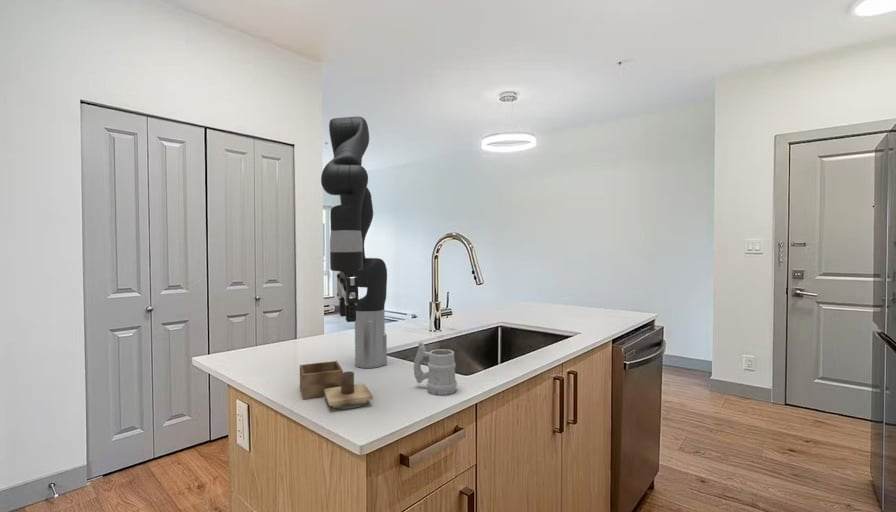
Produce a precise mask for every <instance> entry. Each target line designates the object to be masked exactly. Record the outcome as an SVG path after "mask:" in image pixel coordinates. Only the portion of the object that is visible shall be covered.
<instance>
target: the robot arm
mask: <svg viewBox="0 0 896 512" xmlns="http://www.w3.org/2000/svg"><path fill="white" fill-rule="evenodd" d="M328 128H329V130H328V131H329V136H330V137H329V138H330V143H331V144H330V145H331V148H332V152H333V158H332V159H331V160H330V161H329V162H328V163H326V165H325V166H324V168H323V170H322V172H321V177H320V183H321V187H322V188H323V190H324V191H325V193H327V194H329V195H332V196H339V200H340V204H339V205H335V206H332V207H331V209H330V213H329V215H330V216H329V217H330V218H329V219H330V220H329V222H330V237H329V268H330V271H332V272H339V273H337V274H336V287H337V288H336V291H337V293H336V296H337V299H338V301H339V316H340V317H345V321H346V322H347V323H354V365H355V367H357V368H363V369H372V368H378V367H383V366H387V365H388V356H387V355H388V351H387V350H388V346H387V345H388V344H387V342H388V340H387V338H388V336H387V333H385V332H386V329H385V327H386V326H385V323H386V322H385V304H386V300H387V286H388V268H387V264H386V263H385V261H384V260H383V259H382V258H378V257H375V258H374V257H366V253H365V240H366V237H367V233H368V232H369V229H370V227H371V224H372V222H373V218H374V208H373V200H372V194H371V192H370V190H369V188H368V183H369V174H368V172H367V170H366V168H365V167H364V166H362V162H363V161H362V160H363V156H364V155H365V153H366V151H367V149H368V148H369V147H368V146H369V143H370V132H369V126H368V123H367V121H366V118H364V117H362V116H357V115H356V116H347V117H346V116H345V117H334V118H330V120H329V124H328ZM359 288H366V294H365V295H364V296H363V297H361V298H359Z"/></svg>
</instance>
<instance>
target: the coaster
mask: <svg viewBox="0 0 896 512" xmlns="http://www.w3.org/2000/svg"><path fill="white" fill-rule="evenodd" d="M368 401H369V400H367V402H368ZM366 404H367V403H361V404H354V405H348V406H341V407H335V408H334V406H333V405H332V406H329V407H330V408H332V409H335V410H352V409H357V408H358V409H359V408H360V407H363V406H365V405H366Z"/></svg>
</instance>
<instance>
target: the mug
mask: <svg viewBox="0 0 896 512" xmlns="http://www.w3.org/2000/svg"><path fill="white" fill-rule="evenodd" d="M425 357H428V363H427V368H428V371H427V372H424V371H423V370H422V368H421V367H422V366H421V364H422V361H423V360H424V358H425ZM456 364H457V363H456V362H455V351H454V350H451V349H444V348H443V349H442V348H441V349H439V348H438V349H433V350H430V351H426V346H425V344H424V342H422V341H419V342H418V349H417V352H416V355H415V358H414V363H413V375H414V379H416V382H417V384H421V383H422V382H423V381H424V380H426V379H427V381H426V387H427V389H428V393H430V394H432V395H434V396H435V395H438V396H446V395H447V394H448V395H451V394H453V393H456V390H457V386H458V382H457V380H456V366H457V365H456Z"/></svg>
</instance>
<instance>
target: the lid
mask: <svg viewBox="0 0 896 512" xmlns="http://www.w3.org/2000/svg"><path fill="white" fill-rule="evenodd" d="M324 394H325V396H326V397H325V398H326V402H327V404H328V407H330V406H332V405H333V406H334V408H335V407H341V406H348V405H354V404H361V403H366V404H367V403H368V401H371V400H373V399H374V395H373V394H372V393H371V391H370V390H369V389H368V387H367V386H366V384H365V383H357V384H355V372H354V371H343V373H341V387H334V388H326V389H324ZM367 400H368V401H367ZM334 408H333V409H334Z"/></svg>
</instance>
